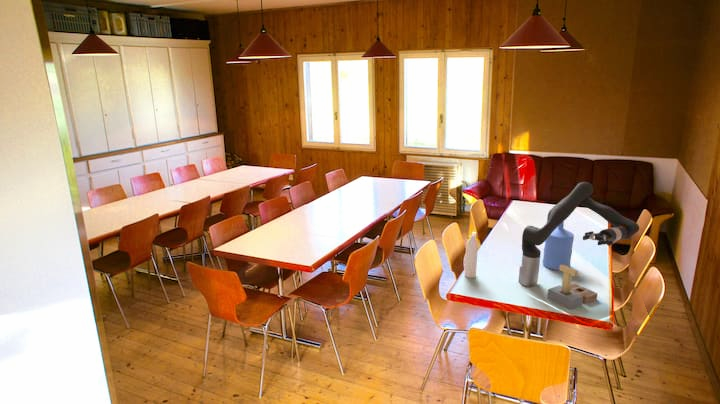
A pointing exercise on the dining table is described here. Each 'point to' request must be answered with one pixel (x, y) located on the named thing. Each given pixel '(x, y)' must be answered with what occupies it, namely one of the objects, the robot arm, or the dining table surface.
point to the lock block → (584, 293)
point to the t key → (567, 278)
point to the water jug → (558, 248)
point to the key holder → (565, 297)
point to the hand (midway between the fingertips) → (590, 240)
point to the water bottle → (471, 256)
